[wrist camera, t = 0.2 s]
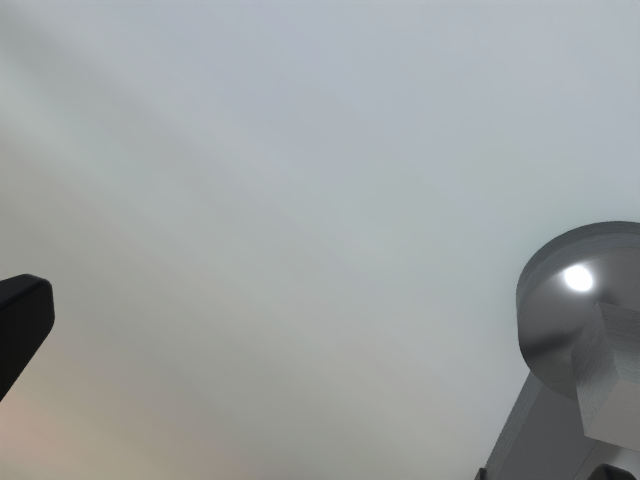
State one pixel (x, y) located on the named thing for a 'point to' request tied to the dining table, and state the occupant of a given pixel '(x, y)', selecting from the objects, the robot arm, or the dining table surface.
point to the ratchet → (575, 354)
